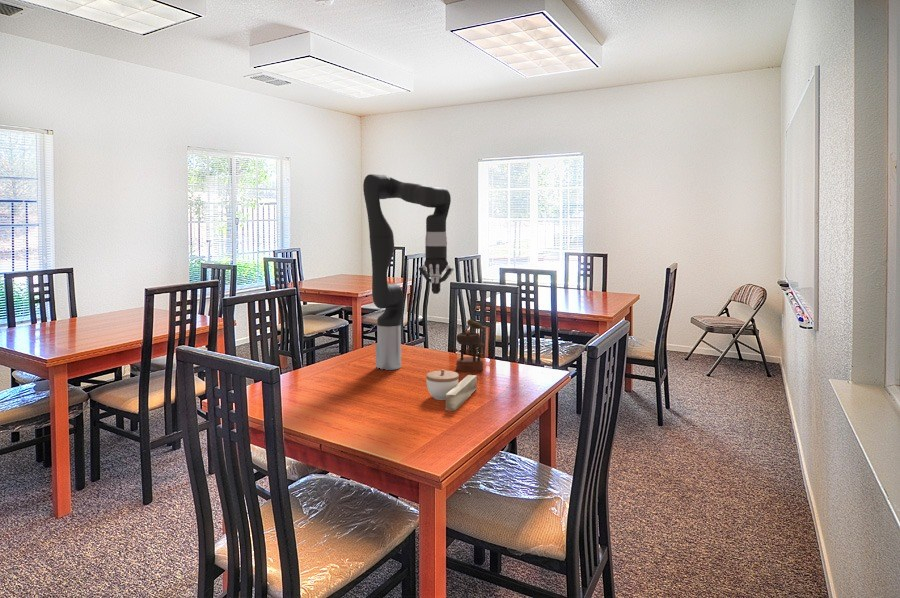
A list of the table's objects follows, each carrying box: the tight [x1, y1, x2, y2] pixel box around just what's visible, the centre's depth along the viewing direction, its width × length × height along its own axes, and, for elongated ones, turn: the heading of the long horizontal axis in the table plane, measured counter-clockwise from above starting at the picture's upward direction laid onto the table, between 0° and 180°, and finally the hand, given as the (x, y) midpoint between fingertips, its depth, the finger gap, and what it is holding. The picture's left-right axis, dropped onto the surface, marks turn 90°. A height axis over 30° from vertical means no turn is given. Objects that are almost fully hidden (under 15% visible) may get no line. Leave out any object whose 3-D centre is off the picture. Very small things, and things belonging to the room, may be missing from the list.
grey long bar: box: [445, 374, 478, 412], centre depth 188 cm, size 3×24×5 cm, turn 162°
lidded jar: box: [425, 369, 460, 401], centre depth 190 cm, size 11×11×9 cm
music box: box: [448, 319, 488, 373], centre depth 225 cm, size 15×11×20 cm
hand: (436, 293), depth 206 cm, fingers closed
